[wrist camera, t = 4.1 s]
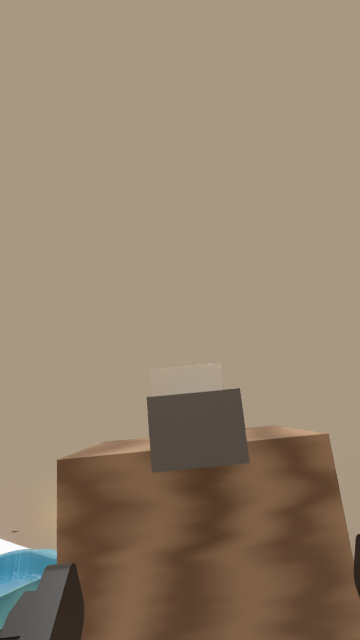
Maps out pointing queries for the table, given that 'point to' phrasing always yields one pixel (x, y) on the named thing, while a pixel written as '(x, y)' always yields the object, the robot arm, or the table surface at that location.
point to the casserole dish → (21, 575)
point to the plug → (194, 419)
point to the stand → (210, 543)
